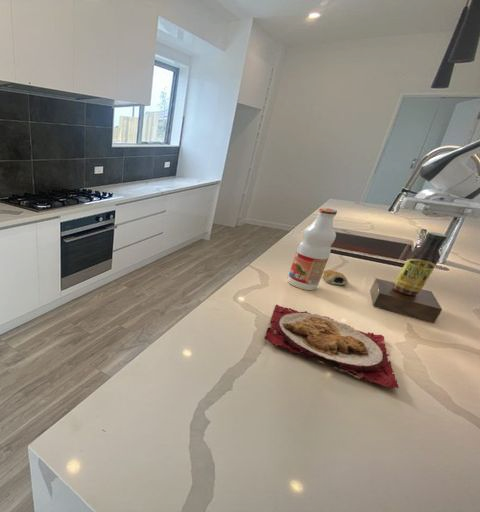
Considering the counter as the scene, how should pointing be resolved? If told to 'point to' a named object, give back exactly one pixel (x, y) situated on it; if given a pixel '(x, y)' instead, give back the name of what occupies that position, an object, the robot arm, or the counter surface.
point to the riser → (405, 301)
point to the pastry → (335, 277)
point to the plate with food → (332, 344)
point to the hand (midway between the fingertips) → (445, 210)
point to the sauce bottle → (419, 265)
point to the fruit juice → (313, 251)
